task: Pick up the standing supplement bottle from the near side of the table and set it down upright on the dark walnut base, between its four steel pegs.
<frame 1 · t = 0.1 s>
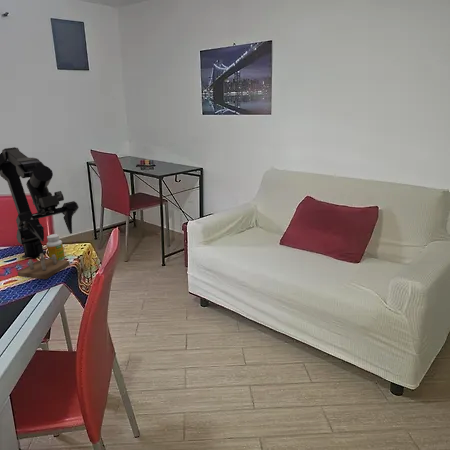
hand: (57, 237, 131), 15 cm above the table, tool tilted 35°, fingers open, 9 cm apart
supplement bottle: (57, 260, 152), on the table
peg cradle: (44, 270, 144), on the table
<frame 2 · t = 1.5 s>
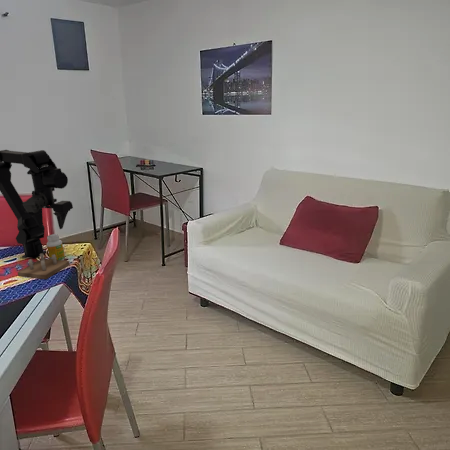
hand: (51, 228, 148), 13 cm above the table, tool pointing down, fingers open, 9 cm apart
nothing on the table moved.
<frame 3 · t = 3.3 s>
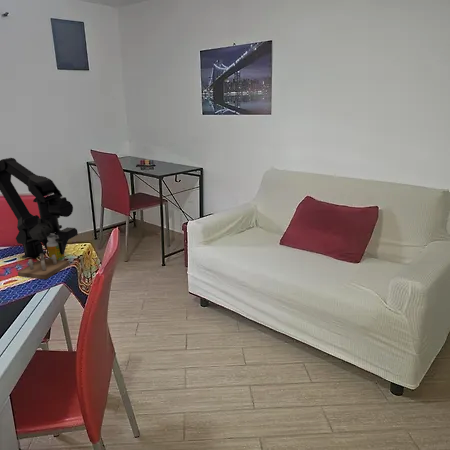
hand: (56, 253, 151), 3 cm above the table, tool pointing down, fingers closed on supplement bottle, 5 cm apart
supplement bottle: (57, 260, 152), on the table, touching gripper
when the fingers open (6 cm above the table, at t = 7.5 s): supplement bottle drops 2 cm, resting on peg cradle.
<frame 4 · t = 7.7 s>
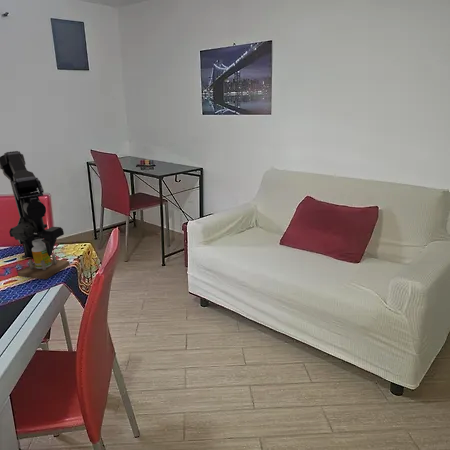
hand: (41, 254, 142), 6 cm above the table, tool pointing down, fingers open, 7 cm apart
supplement bottle: (44, 266, 143), point 1 cm above the table, touching peg cradle
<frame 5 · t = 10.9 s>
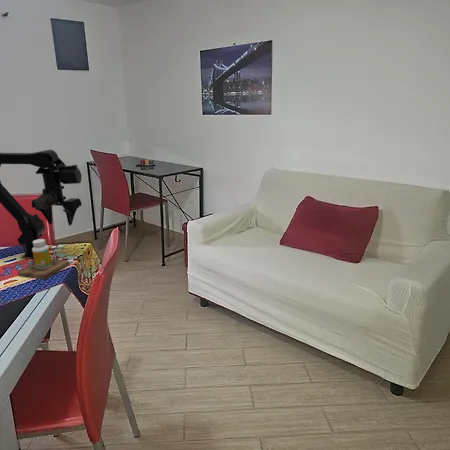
hand: (60, 224, 154), 12 cm above the table, tool pointing down, fingers open, 9 cm apart
nothing on the table moved.
at the end: supplement bottle 0.1 cm off-centre on the peg cradle, point 1.3 cm above the peg cradle's base; supplement bottle tilted 1°; the gripper is holding nothing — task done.
